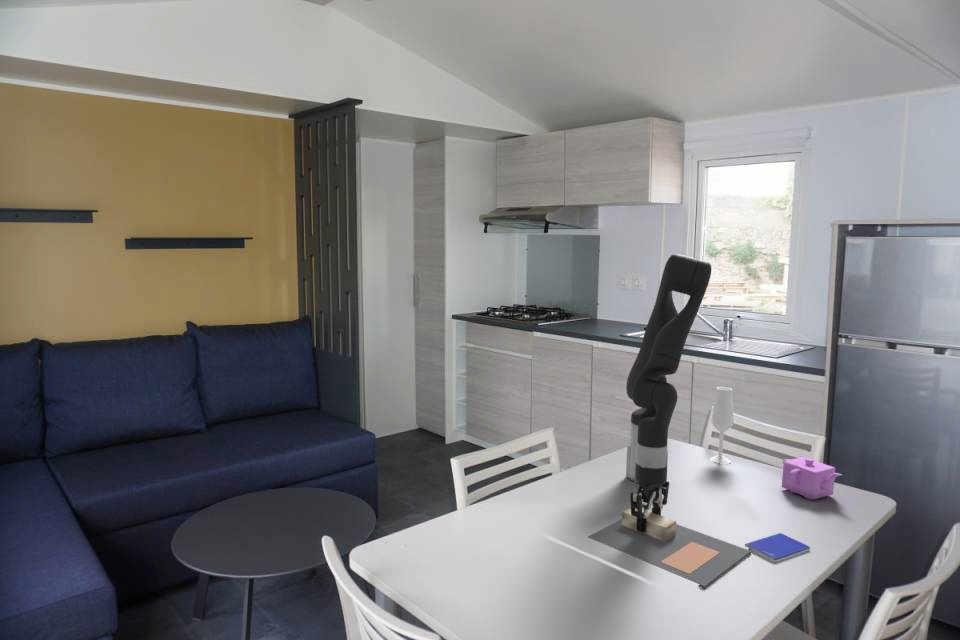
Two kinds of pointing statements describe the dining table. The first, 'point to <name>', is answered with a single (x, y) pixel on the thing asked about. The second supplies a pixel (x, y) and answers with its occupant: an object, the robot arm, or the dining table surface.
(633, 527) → the cream block
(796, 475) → the teapot
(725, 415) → the champagne flute
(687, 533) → the rubber mat
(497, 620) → the dining table surface
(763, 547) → the hard drive
